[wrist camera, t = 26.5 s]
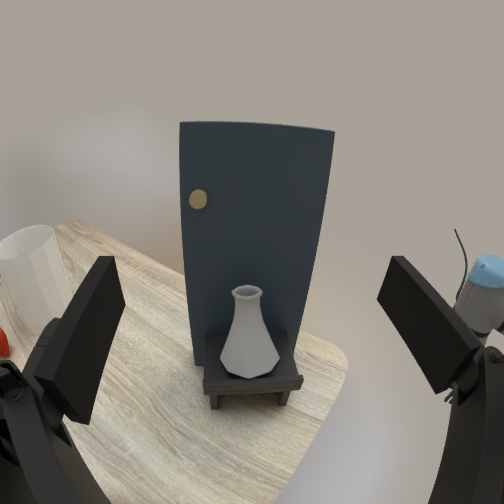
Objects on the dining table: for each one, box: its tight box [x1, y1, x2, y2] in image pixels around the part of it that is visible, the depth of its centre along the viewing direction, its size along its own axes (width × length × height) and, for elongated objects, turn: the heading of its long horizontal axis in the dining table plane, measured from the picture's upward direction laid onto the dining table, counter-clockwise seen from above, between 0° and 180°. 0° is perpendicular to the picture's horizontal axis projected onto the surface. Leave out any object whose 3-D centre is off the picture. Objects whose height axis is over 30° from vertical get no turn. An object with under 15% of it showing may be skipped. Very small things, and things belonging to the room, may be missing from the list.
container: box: [0, 225, 73, 336], centre depth 42 cm, size 14×14×18 cm
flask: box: [220, 285, 280, 379], centre depth 32 cm, size 7×7×10 cm
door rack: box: [179, 121, 335, 409], centre depth 31 cm, size 14×16×36 cm
